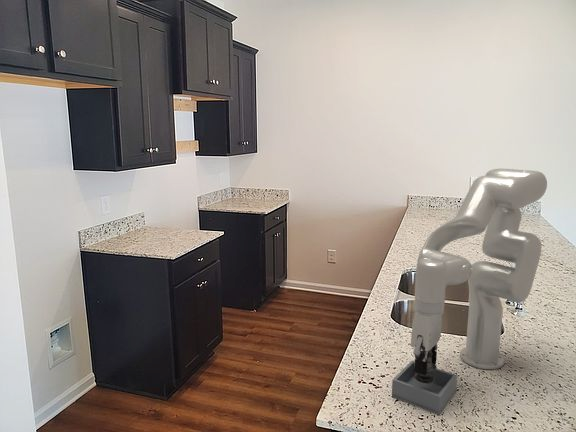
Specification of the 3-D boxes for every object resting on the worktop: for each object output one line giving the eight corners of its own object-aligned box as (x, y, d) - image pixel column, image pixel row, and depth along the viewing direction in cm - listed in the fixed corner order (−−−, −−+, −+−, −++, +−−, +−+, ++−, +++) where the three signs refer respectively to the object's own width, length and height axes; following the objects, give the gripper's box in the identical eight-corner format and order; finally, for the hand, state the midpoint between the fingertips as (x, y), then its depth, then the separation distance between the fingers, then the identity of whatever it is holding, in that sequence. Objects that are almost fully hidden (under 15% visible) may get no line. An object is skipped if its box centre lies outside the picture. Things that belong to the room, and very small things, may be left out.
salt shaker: (409, 378, 122) (411, 337, 120) (419, 370, 126) (421, 330, 124) (429, 386, 118) (432, 344, 116) (439, 377, 122) (442, 336, 120)
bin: (411, 376, 132) (412, 360, 131) (456, 391, 124) (457, 375, 123) (391, 396, 122) (392, 379, 121) (439, 414, 114) (440, 397, 113)
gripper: (427, 292, 127) (424, 351, 130) (401, 311, 114) (398, 377, 117) (454, 298, 122) (450, 360, 126) (430, 319, 109) (426, 387, 113)
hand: (425, 367), depth 121 cm, fingers closed on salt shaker, 5 cm apart
